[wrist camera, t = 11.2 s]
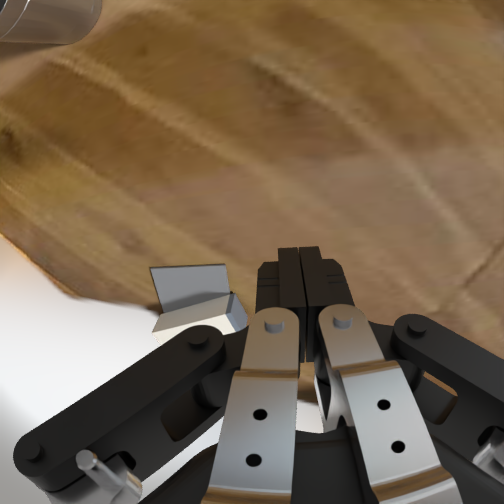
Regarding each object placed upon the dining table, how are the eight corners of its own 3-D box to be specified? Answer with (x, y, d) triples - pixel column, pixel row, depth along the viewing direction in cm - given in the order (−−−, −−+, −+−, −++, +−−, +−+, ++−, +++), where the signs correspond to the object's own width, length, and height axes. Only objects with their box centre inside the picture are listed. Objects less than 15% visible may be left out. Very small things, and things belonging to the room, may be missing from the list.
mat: (170, 330, 51) (170, 332, 51) (151, 267, 46) (150, 268, 45) (236, 330, 50) (236, 332, 49) (225, 264, 44) (224, 265, 44)
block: (247, 316, 48) (174, 334, 51) (234, 293, 46) (160, 314, 49) (244, 336, 44) (167, 354, 47) (230, 312, 42) (151, 333, 45)
